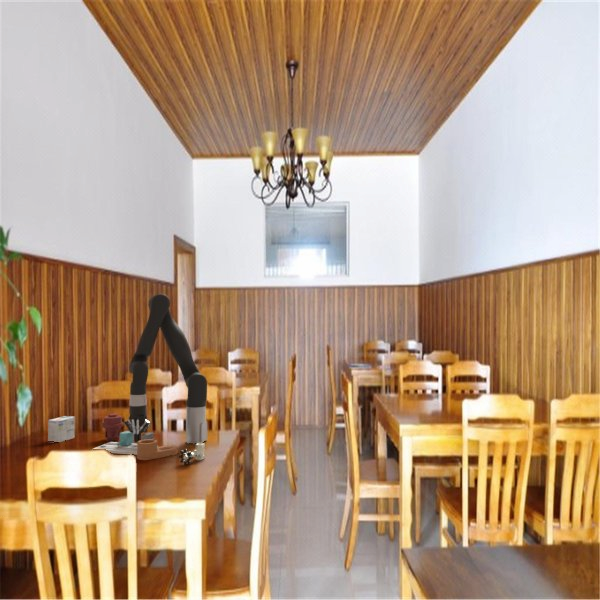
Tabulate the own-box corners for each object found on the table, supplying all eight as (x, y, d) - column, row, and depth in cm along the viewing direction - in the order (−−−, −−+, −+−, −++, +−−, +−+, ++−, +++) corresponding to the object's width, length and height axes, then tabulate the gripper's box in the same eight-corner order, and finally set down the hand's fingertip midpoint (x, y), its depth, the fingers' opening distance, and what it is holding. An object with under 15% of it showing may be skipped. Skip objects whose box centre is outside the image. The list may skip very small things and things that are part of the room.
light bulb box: (64, 437, 247) (65, 415, 248) (75, 438, 245) (75, 416, 245) (47, 442, 237) (47, 419, 237) (57, 443, 235) (58, 420, 235)
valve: (196, 457, 211) (178, 464, 200) (197, 441, 211) (178, 448, 200) (209, 459, 208) (191, 466, 197) (209, 443, 208) (191, 450, 198)
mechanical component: (107, 436, 247) (126, 437, 246) (97, 441, 237) (117, 442, 236) (108, 412, 248) (127, 412, 247) (98, 416, 238) (117, 416, 237)
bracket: (141, 461, 205) (141, 444, 205) (134, 457, 211) (134, 441, 211) (181, 454, 216) (181, 438, 216) (173, 450, 222) (173, 435, 223)
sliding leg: (133, 443, 228) (133, 431, 228) (121, 448, 219) (121, 436, 219) (126, 442, 229) (126, 430, 229) (113, 447, 220) (113, 435, 220)
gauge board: (157, 447, 226) (157, 444, 226) (141, 455, 213) (141, 451, 213) (110, 444, 232) (110, 441, 232) (92, 451, 220) (92, 447, 220)
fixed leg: (153, 445, 225) (153, 432, 226) (142, 450, 216) (142, 437, 217) (147, 444, 226) (148, 432, 226) (136, 449, 217) (136, 437, 217)
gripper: (155, 403, 227) (154, 440, 227) (130, 402, 231) (129, 439, 230) (146, 406, 220) (145, 444, 219) (120, 404, 223) (119, 443, 223)
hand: (137, 441), depth 225 cm, fingers closed
